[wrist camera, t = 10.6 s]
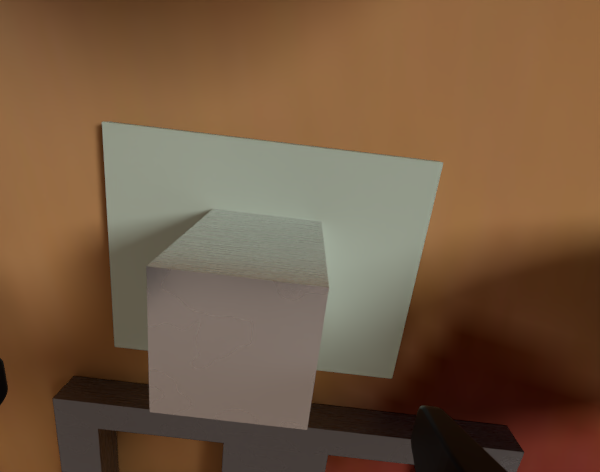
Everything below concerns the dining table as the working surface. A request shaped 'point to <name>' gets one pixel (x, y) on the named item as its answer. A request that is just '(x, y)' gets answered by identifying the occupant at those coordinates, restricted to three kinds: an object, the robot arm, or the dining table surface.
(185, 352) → the steel peg
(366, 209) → the sage mat
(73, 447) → the grey flat frame
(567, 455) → the dining table surface
